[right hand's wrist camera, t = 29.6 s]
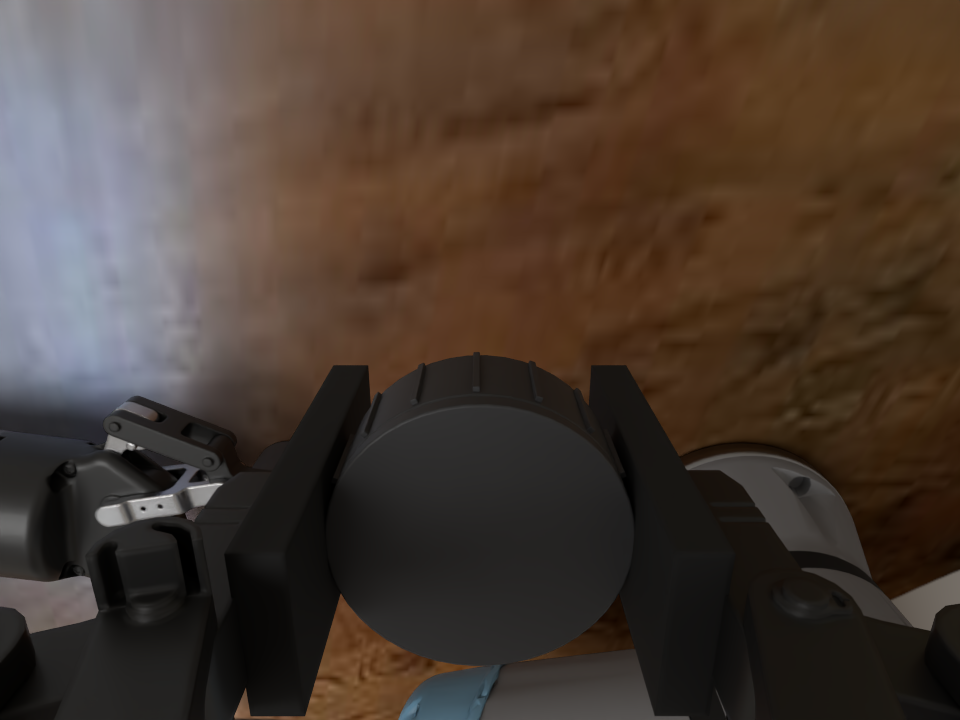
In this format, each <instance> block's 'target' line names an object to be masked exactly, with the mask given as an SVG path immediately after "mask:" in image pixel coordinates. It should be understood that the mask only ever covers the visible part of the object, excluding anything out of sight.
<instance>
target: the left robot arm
mask: <svg viewBox="0 0 960 720" xmlns="http://www.w3.org/2000/svg"><path fill="white" fill-rule="evenodd" d="M103 428H104V430H105V431H106V432H107V433H108V437H107V441H106V442H105V443H103V444H99V445H97V444H95V443H93V442H91V441H87V440H80V439H71V438H63V437H55V436H46V435H38V434H30V433H22V432H14V431H6V430H0V577H8V578H17V579H25V580H34V581H43V582H51V581H57V580H61V579H65V578H69V577H75V576H86V577H89V578H90V574H89V571H88V567H87V563H86V559H85V555H86V554H87V552H88V551H89V550H90V549H91V547H92V546H93V545H94V544H95V543H96V542H97V541H98V540H100V539H101V538H103V537H104V536H106V535H107V534H109V533H110V532H112V531H114V530H116V529H118V528H121V527H123V526H126V525H128V524H130V523H133V522H136V521H141V520H145V519H150V518H154V517H180V518H184V519H187V518H186V515H185V512H187V511H189V510H190V509H192V508H194V507H200V506H205V505H206V503H207V502H208V501H209V499H210V498H211V496H212V495H213V493H214V492H215V491H216V489H217V488H218V487H219V486H221V485H222V484H224V483H225V482H226V481H228V480H229V479H231V478H232V477H234V476H235V475H237V474H238V473H240V472H272V470H265V469H257V468H250V467H247V466H246V465H245V464H244V463H243V462H241V461H240V460H239V458H238V456H237V453H236V450H235V448H234V447H235V445H236V443H237V439H236V436H235V435H234V434H233V433H232V432H231V431H229V430H226V429H223V428H221V427H218V426H216V425H213V424H210V423H208V422H205V421H203V420H200V419H198V418H195V417H192V416H190V415H187V414H185V413H182V412H179V411H177V410H174V409H172V408H169V407H166V406H164V405H161V404H159V403H156V402H154V401H151V400H148V399H146V398H143V397H140V396H134V397H131V398H130V399H129V400H128V401H126V402H125V403H123V404H122V405H120V406H119V407H118V408H117V409H115V410H114V411H113V412H112V413H111V414H110V415H109V416H108V417H106V418H105V419H104V421H103ZM144 449H147V450H150V451H153V452H155V453H158V454H161V455H163V456H166V457H169V458H171V459H174V460H177V461H179V462H182V463H185V464H178V465H171V466H164V467H161V466H160V465H158V464H157V463H156V462H154V461H153V460H151V459H150V458H149V457H147V456H146V455H145V454H143V453H142V452H141V451H139V450H144Z"/></svg>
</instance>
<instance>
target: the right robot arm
mask: <svg viewBox="0 0 960 720" xmlns="http://www.w3.org/2000/svg"><path fill="white" fill-rule="evenodd" d="M370 407H371V402H370V386H369V371H368V365H334V366H333V367H332V369H331V371H330V372H329V374H328V376H327V378H326V379H325V381H324V383H323V384H322V386H321V388H320V390H319V391H318V393H317V395H316V397H315V398H314V400H313V402H312V403H311V405H310V407H309V409H308V410H307V412H306V414H305V415H304V417H303V419H302V421H301V422H300V424H299V426H298V427H297V429H296V431H295V433H294V434H293V436H292V438H291V439H290V441H289V443H288V445H287V446H286V448H285V450H284V451H283V453H282V455H281V457H280V458H279V460H278V462H277V463H276V465H275V467H274V469H273V470H272V472H240V473H238V474H237V475H235V476H234V477H232V478H231V479H229V480H228V481H226V482H225V483H224V484H222V485H221V486H219V487H218V488H217V489H216V491H215V492H214V493H213V495H212V496H211V498H210V499H209V501H208V502H207V503H206V505H205V509H202V511H201V512H200V513H199V515H198V516H197V518H196V519H195V520H194V522H193V521H192V520H188V519H184V518H180V517H154V518H150V519H145V520H141V521H136V522H133V523H130V524H128V525H126V526H123V527H121V528H118V529H116V530H114V531H112V532H110V533H109V534H107V535H106V536H104V537H103V538H101V539H100V540H98V541H97V542H96V543H95V544H94V545H93V546H92V547H91V549H90V550H89V551H88V552H87V554H86V555H85V559H86V563H87V567H88V571H89V574H90V578H91V582H92V586H93V590H94V594H95V598H96V602H97V606H98V610H99V612H98V614H97V616H96V618H95V619H91V620H88V621H84V622H81V623H77V624H72V625H68V626H63V627H59V628H54V629H49V630H45V631H40V632H36V633H31V634H30V633H29V630H28V627H27V624H26V620H25V617H24V616H23V615H22V614H20V613H19V612H18V611H17V610H15V609H13V608H6V607H0V720H235V718H234V715H235V712H236V710H237V708H238V705H239V703H240V700H241V698H242V695H243V693H244V690H245V688H246V691H247V697H248V703H249V709H250V715H251V716H305V714H306V711H307V707H308V704H309V700H310V697H311V694H312V690H313V687H314V683H315V680H316V676H317V673H318V669H319V666H320V663H321V659H322V656H323V652H324V649H325V645H326V642H327V638H328V635H329V632H330V628H331V625H332V621H333V618H334V614H335V611H336V607H337V604H338V601H339V597H340V594H341V593H340V591H339V589H338V587H337V585H336V583H335V580H334V578H333V576H332V574H331V570H330V567H329V563H328V558H327V548H326V537H325V519H326V514H327V509H328V504H329V501H330V499H331V496H332V493H333V490H334V488H335V485H336V484H334V483H332V482H331V481H332V478H333V476H334V473H335V471H336V468H337V466H338V464H339V461H340V459H341V456H342V454H343V451H344V449H345V446H346V444H347V441H348V439H349V436H350V434H354V435H355V434H356V431H357V429H358V427H359V425H360V423H361V421H362V419H363V417H364V415H365V414H366V412H367V411H368V410H369V408H370ZM589 407H590V408H591V410H592V411H593V413H594V415H595V416H596V418H597V419H598V421H599V423H600V425H601V427H602V430H604V429H608V432H609V434H610V437H611V439H612V442H613V444H614V447H615V449H616V452H617V454H618V456H619V459H620V461H621V464H622V466H623V469H624V471H625V474H626V477H624V478H622V480H623V483H624V485H625V488H626V490H627V493H628V496H629V498H630V501H631V506H632V510H633V514H634V520H635V532H634V543H633V554H632V562H631V567H630V570H629V573H628V575H627V578H626V580H625V583H624V585H623V587H622V589H621V590H620V592H619V595H620V598H621V602H622V605H623V609H624V612H625V616H626V619H627V623H628V626H629V630H630V633H631V636H632V640H633V643H634V647H635V649H628V650H620V651H611V652H602V653H594V654H585V655H576V656H568V657H559V658H550V659H542V660H533V661H524V662H516V663H509V664H500V665H490V666H483V667H477V668H471V669H465V670H459V671H453V672H448V673H442V674H438V675H435V676H433V677H431V678H429V679H427V680H426V681H424V682H423V683H421V684H420V685H419V686H418V687H417V688H416V689H415V691H414V692H413V693H412V695H411V696H410V698H409V699H408V701H407V702H406V704H405V706H404V708H403V710H402V712H401V714H400V717H399V720H960V604H955V605H948V606H945V607H944V608H943V609H941V610H940V611H939V612H938V613H937V614H936V615H935V619H934V622H933V625H932V629H931V631H928V630H923V629H919V628H914V627H913V626H912V625H911V624H910V623H909V621H908V620H907V619H906V618H905V617H904V616H903V614H902V613H901V612H900V611H899V610H898V609H897V608H896V606H895V605H894V604H893V603H892V602H891V601H890V599H889V598H888V597H887V596H886V595H885V594H884V593H883V592H882V590H881V589H880V588H879V587H878V586H877V584H876V583H875V582H874V581H873V580H872V577H871V574H870V571H869V568H868V565H867V562H866V559H865V556H864V552H863V549H862V546H861V543H860V540H859V537H858V534H857V531H856V528H855V524H854V522H853V519H852V516H851V514H850V512H849V510H848V508H847V506H846V504H845V502H844V501H843V499H842V497H841V496H840V495H839V493H838V492H837V491H836V489H835V488H834V487H833V486H832V485H831V484H830V483H829V482H828V481H827V480H826V479H825V478H824V477H823V476H822V475H821V474H820V473H819V471H818V470H816V469H815V468H814V467H813V466H812V465H810V464H809V463H808V462H806V461H805V460H803V459H801V458H800V457H798V456H796V455H794V454H792V453H790V452H787V451H784V450H782V449H779V448H775V447H771V446H766V445H760V444H750V443H733V444H723V445H718V446H712V447H708V448H704V449H701V450H698V451H695V452H692V453H689V454H687V455H685V456H682V457H679V456H678V454H677V452H676V450H675V449H674V447H673V445H672V444H671V442H670V440H669V438H668V437H667V435H666V433H665V432H664V430H663V428H662V426H661V425H660V423H659V421H658V420H657V418H656V416H655V414H654V413H653V411H652V409H651V408H650V406H649V404H648V402H647V401H646V399H645V397H644V396H643V394H642V392H641V390H640V389H639V387H638V385H637V383H636V382H635V380H634V378H633V377H632V375H631V373H630V371H629V370H628V368H627V366H626V365H591V380H590V396H589Z"/></svg>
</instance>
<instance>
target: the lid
mask: <svg viewBox="0 0 960 720" xmlns="http://www.w3.org/2000/svg"><path fill="white" fill-rule="evenodd" d="M624 477H626V474H625V471H624V469H623V466H622V464H621V461H620V459H619V456H618V454H617V452H616V449H615V447H614V444H613V442H612V439H611V437H610V434H609V432H608V429H604V430H602V427H601V425H600V423H599V421H598V419H597V418H596V416H595V415H594V413H593V411H592V410H591V408H590V407H589V406H588V405H587V403H586V402H585V401H584V399H583V396H582V393H581V391H580V390H579V389H578V388H576V389H575V390H573V389H572V388H571V387H570V386H569V385H567V384H566V383H564V382H563V381H562V380H560V379H559V378H557V377H556V376H554V375H552V374H551V373H549V372H547V371H545V370H543V369H541V368H539V367H536V363H535V362H533V361H529V364H528V363H525V362H523V361H519V360H514V359H510V358H506V357H498V356H488V355H480V352H474V354H473V356H462V357H455V358H449V359H445V360H442V361H438V362H434V363H431V364H429V365H426V366H425V364H424V363H422V364H420V365H419V366H418V369H417V370H415V371H413V372H411V373H409V374H408V375H406V376H404V377H402V378H401V379H399V380H398V381H397V382H395V383H394V384H393V385H391V386H390V387H389V388H388V389H386V390H385V391H384V392H383V393H382V394H380V393H379V392H378V393H377V394H376V395H375V396H374V399H373V402H372V404H371V407H370V408H369V410H368V411H367V412H366V414H365V415H364V417H363V419H362V421H361V423H360V425H359V427H358V429H357V431H356V434H355V435H354V434H350V436H349V439H348V441H347V444H346V446H345V449H344V451H343V454H342V456H341V459H340V461H339V464H338V466H337V468H336V471H335V473H334V476H333V478H332V481H331V482H332V483H334V484H336V485H335V488H334V490H333V493H332V496H331V499H330V501H329V504H328V509H327V514H326V519H325V537H326V548H327V558H328V563H329V567H330V570H331V574H332V576H333V578H334V580H335V583H336V585H337V587H338V589H339V591H340V593H341V594H342V596H343V597H344V599H345V600H346V602H347V604H348V605H349V606H350V607H351V608H352V610H353V611H354V612H355V613H356V614H357V616H358V617H359V618H360V619H361V620H362V621H364V622H365V623H366V624H367V625H368V626H369V627H370V628H371V629H372V630H374V631H375V632H376V633H378V634H379V635H381V636H382V637H383V638H385V639H386V640H388V641H390V642H392V643H393V644H395V645H397V646H399V647H401V648H402V649H405V650H407V651H410V652H412V653H414V654H417V655H419V656H422V657H426V658H429V659H433V660H436V661H441V662H446V663H451V664H458V665H470V666H490V665H500V664H509V663H514V662H519V661H523V660H528V659H531V658H534V657H537V656H540V655H543V654H546V653H548V652H550V651H553V650H555V649H557V648H559V647H561V646H563V645H565V644H567V643H568V642H570V641H571V640H573V639H575V638H576V637H578V636H579V635H581V634H582V633H583V632H585V631H586V630H587V629H588V628H590V627H591V626H592V625H593V624H594V623H595V622H596V621H597V620H598V619H599V618H600V617H601V616H602V615H603V614H604V613H605V612H606V611H607V609H608V608H609V607H610V606H611V604H612V603H613V602H614V600H615V599H616V597H617V596H618V594H619V592H620V590H621V589H622V587H623V585H624V583H625V580H626V578H627V575H628V573H629V570H630V567H631V562H632V554H633V543H634V532H635V520H634V514H633V510H632V506H631V501H630V498H629V496H628V493H627V490H626V488H625V485H624V483H623V480H622V478H624Z"/></svg>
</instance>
